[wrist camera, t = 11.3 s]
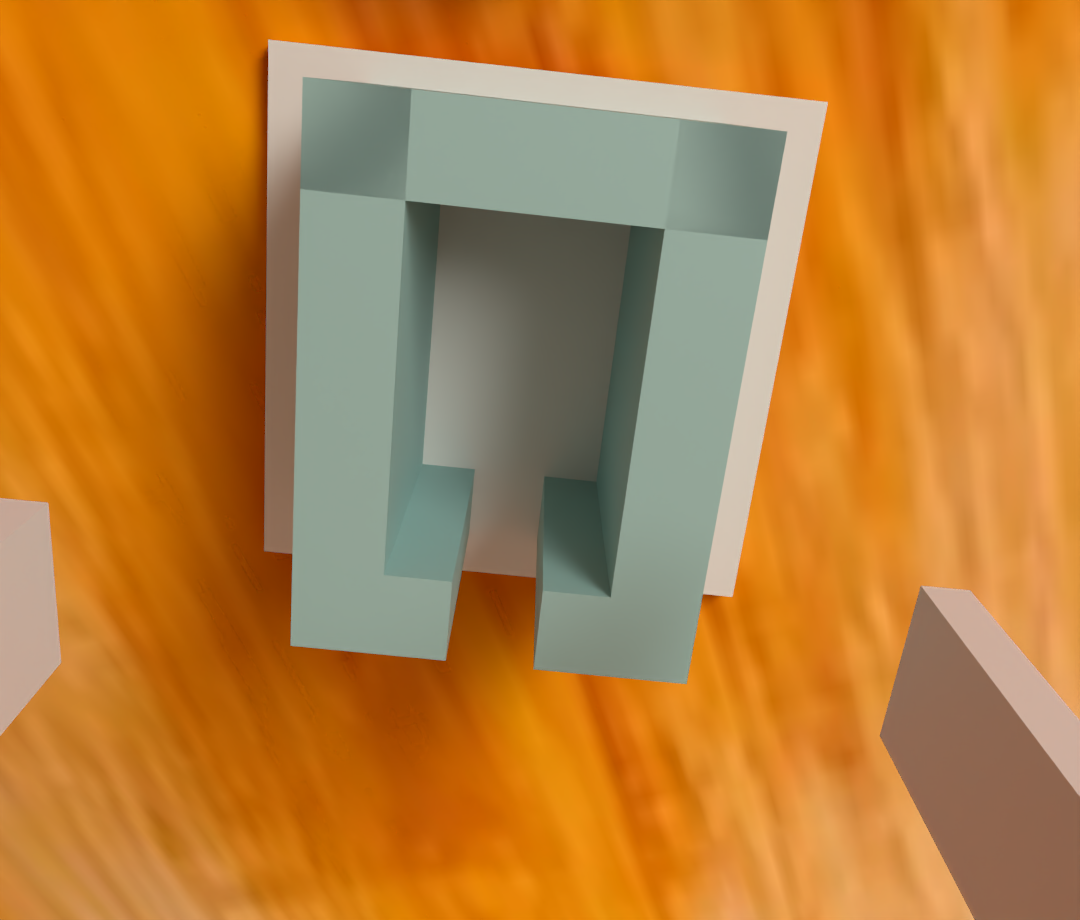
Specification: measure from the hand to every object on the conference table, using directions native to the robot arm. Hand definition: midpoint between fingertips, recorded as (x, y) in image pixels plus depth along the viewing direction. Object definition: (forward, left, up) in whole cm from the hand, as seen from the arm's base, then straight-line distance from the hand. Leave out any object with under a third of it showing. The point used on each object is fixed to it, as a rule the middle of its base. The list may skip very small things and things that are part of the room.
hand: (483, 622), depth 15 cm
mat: (-1, 0, -14) cm, 14 cm away
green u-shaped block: (-1, 0, -13) cm, 13 cm away
